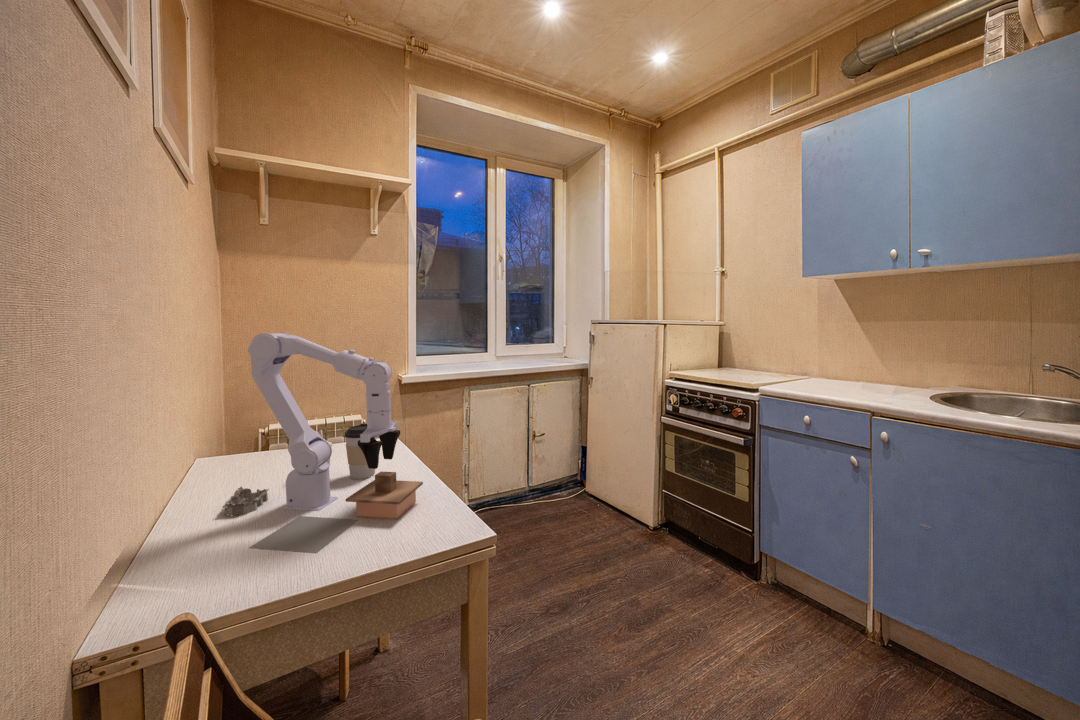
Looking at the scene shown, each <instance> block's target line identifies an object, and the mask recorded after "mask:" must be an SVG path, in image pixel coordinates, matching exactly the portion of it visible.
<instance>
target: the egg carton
mask: <svg viewBox="0 0 1080 720" xmlns="http://www.w3.org/2000/svg"><path fill="white" fill-rule="evenodd" d="M269 490H270V489H269V488H267V489H265V488H263V489H262V490H261V489H256V492H255V491H254V492H253V491H252V490H251V489H250V488H244V487H243V486H239V487H238V488H237V489H236V490H235V491H234V493H233V495H231V496H230V497H229V499H228V500H226V501H225V503H224V505H223V506H222V509H224V512H225V513H224V515H225V514H228V515H227V517H232V516H231V515H233V516H235V515H238V513H239V514H243V515H245V514H249V513H250V512H253V511H257V510H258V508H260V507H261V506H263V505H264V502H267V501H269V496H268V491H269ZM234 514H235V515H234Z"/></svg>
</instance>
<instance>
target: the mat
mask: <svg viewBox="0 0 1080 720" xmlns="http://www.w3.org/2000/svg"><path fill="white" fill-rule="evenodd" d="M358 521H359V519H355V518H353V519H351V518H339V517H338V518H336V517H323V516H322V517H318V516H306V515H305V516H303V515H299V516H298V517H296V518H294V519H292V520H291V521H289V522H288V523H286V524H285V525H283V526H281V527H280V528H278V529H276V530H275V531H273V532H272V533H270V534H268V535H266V536H265V537H264V538H262V539H260V540H259V541H258V542H256V543H254V544H252V545H251V546H249V547H248V549H253V550H254V549H255V550H266V551H267V550H270V551H282V552H284V551H285V552H296V553H309V554H317V553H319V552H321V551H322V550H323V549H324V548H326V546H328V545H329V544H330V543H332V542H334V540H336V539H337V538H338V537H339V536H341V535H342V534H343V533H344V532H346V531H347V530H349V529H350V528H351V527H352V526H353V525H354V524H355V525H356V523H357V522H358Z"/></svg>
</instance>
